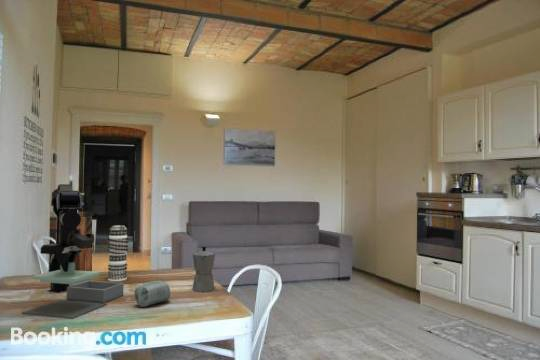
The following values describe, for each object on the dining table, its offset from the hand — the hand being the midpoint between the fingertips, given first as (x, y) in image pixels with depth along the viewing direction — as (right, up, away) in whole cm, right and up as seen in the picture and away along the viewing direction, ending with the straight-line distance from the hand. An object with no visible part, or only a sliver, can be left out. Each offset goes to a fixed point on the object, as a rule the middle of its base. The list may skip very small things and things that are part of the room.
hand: (67, 271), depth 143 cm
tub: (+4, -14, +14) cm, 20 cm away
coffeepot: (+42, -15, +31) cm, 54 cm away
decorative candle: (-1, -15, +49) cm, 51 cm away
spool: (+28, -14, +7) cm, 32 cm away
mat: (0, -13, -1) cm, 13 cm away
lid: (0, -3, 0) cm, 3 cm away
